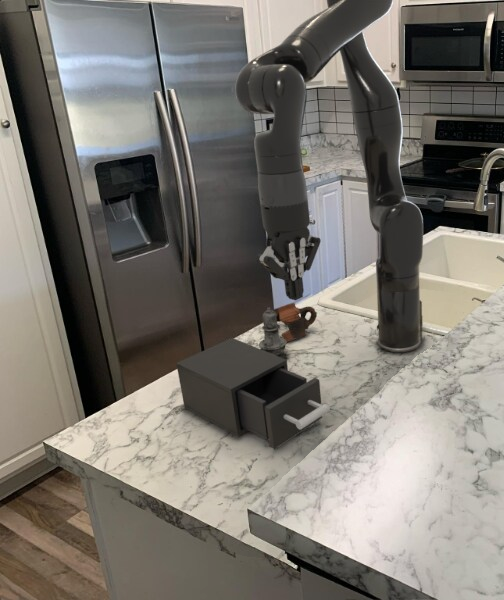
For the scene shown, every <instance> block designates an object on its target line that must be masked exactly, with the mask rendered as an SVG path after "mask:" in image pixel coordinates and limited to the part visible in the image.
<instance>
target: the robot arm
mask: <svg viewBox="0 0 504 600" xmlns="http://www.w3.org/2000/svg"><path fill="white" fill-rule="evenodd" d="M326 4H327V5H326V6H327V8H325V9H323V10H322V11H320V12H318V13H316V14H314V15H313V16H311V17H309V18H307V19H306V20H305V21H303V22H302V23H300V24H299V25H298V26H296V28H295V29H294V30H293V31H292V32H291V33H290V34H289V35H288V36H287V37H286V38H285V39H284V40H283V41H282V42H281V43H280V44H279V45H277V46H275V47H273V48H270V49H269V50H267V51H265V52H264V53H262V54H260V55H258V56H256V57H255V58H253V59H252V60H250V61H249V62H248V63H246V64H245V65H244V66H243V67H242V69H240V71H239V73H238V75H237V77H236V80H235V83H234V94H235V97H236V100H237V103H238V104H239V105H240V106H241V108H242V109H244V110H245V111H247V112H249V113H251V114H256V115H273V121H272V127H271V129H267V130H263V131H260V132H259V133H257V134H256V135H255V136H254V140H253V145H254V146H253V147H254V154H255V155H254V156H255V163H256V171H257V191H258V197H259V205H260V212H261V220H262V227H263V229H264V230H265V232H266V240H265V246H266V248H265V250H264V251H263V253H262V254H261V253H260V254H257V255H256V257H255V259H256V261H257V262H258V263H259V264H260V266H262V267H263V268H264V269H265V270H266V271H267V273H269V274H270V275H271V276H272V277H273V278H274V279H279V280H282V281H283V282H284V290H285V296H286V297H287V298H288V299H289V300H292V301H297V300H299V299H300V300H301V299H302V298H303V297H304V292H305V291H304V290H305V289H304V281H303V277H304V275H305V272H306V271H311V268H312V265H313V263H314V260H315V257H316V255H317V252H318V250H319V247H320V245H321V241H322V240H321V237H317V236H313V235H312V234H311V232H310V229H309V226H310V223H311V219H310V209H309V199H308V190H307V181H306V177H305V172H304V165H303V157H302V156H303V154H302V149H301V147H302V146H301V141H302V140H301V139H302V133H303V125H304V120H305V119H304V118H305V114H306V113H305V112H306V107H307V99H308V90H307V85H306V84H308V83H310V82H311V81H313V80H314V79H315V78H316V77H317V76H318V75H319V74H320V73H321V72H322V70H323V69H324V68H325V67H326V66H327V65H328V64H329V63H330V61H331V60H332V59H333V58H334V57H335V56H336V55H337V54H338V53H340V57H341V60H342V65H343V70H344V74H345V79H346V84H347V89H348V96H349V101H350V108H351V109H350V110H351V113H352V120H353V125H354V130H355V134H356V138H357V143H358V146H359V152H360V157H361V160H362V164H363V168H364V172H365V179H366V186H367V197H368V199H367V201H368V210H369V212H368V213H369V219H370V223H371V226H372V227H373V229H374V231H375V232H376V233H377V234H378V235H379V241H380V244H379V245H380V249H379V250H380V251H379V252H380V253H379V256H378V257H377V258H376V260H375V275H376V277H375V278H376V298H377V299H376V301H377V303H376V304H377V325H376V331H378V343H377V344H378V346H379V347H380V349H382V350H384V351H386V352H390V353H406V352H412V351H413V350H416V349H418V348H419V347H420V345H421V341H422V340H423V304H422V303H423V302H422V300H421V298H420V297H421V296H420V264H421V262H422V260H423V253H424V252H423V250H424V218H423V215H422V212H421V210H420V208H419V207H418V205H416V204H415V203H413V202H412V201H411V200H408V198H407V196H406V193H405V189H404V185H403V184H404V183H403V180H402V175H401V169H400V167H401V166H400V162H401V161H400V160H401V152H402V144H403V136H404V135H403V133H404V132H403V119H402V118H403V117H402V113H401V105H400V100H399V95H398V92H397V89H396V88H395V86H394V85H393V83H392V81H391V79H390V78H389V77H388V76H387V75H386V73H385V72H384V70H382V68H381V66H380V65H379V64H378V63H377V61H376V60H375V58H374V57H373V55H372V54H371V51H370V50H369V48H368V45H367V42H366V41H367V40H366V38H365V34H364V31H365V30H366V29H368V28H369V27H370V26H372V25H373V24H375V23H376V22H378V21H380V20H381V19H383V18H384V17H385V16H387V14H388V13H389V12H390V10H391V9H392V7H393V4H394V0H326Z"/></svg>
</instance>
